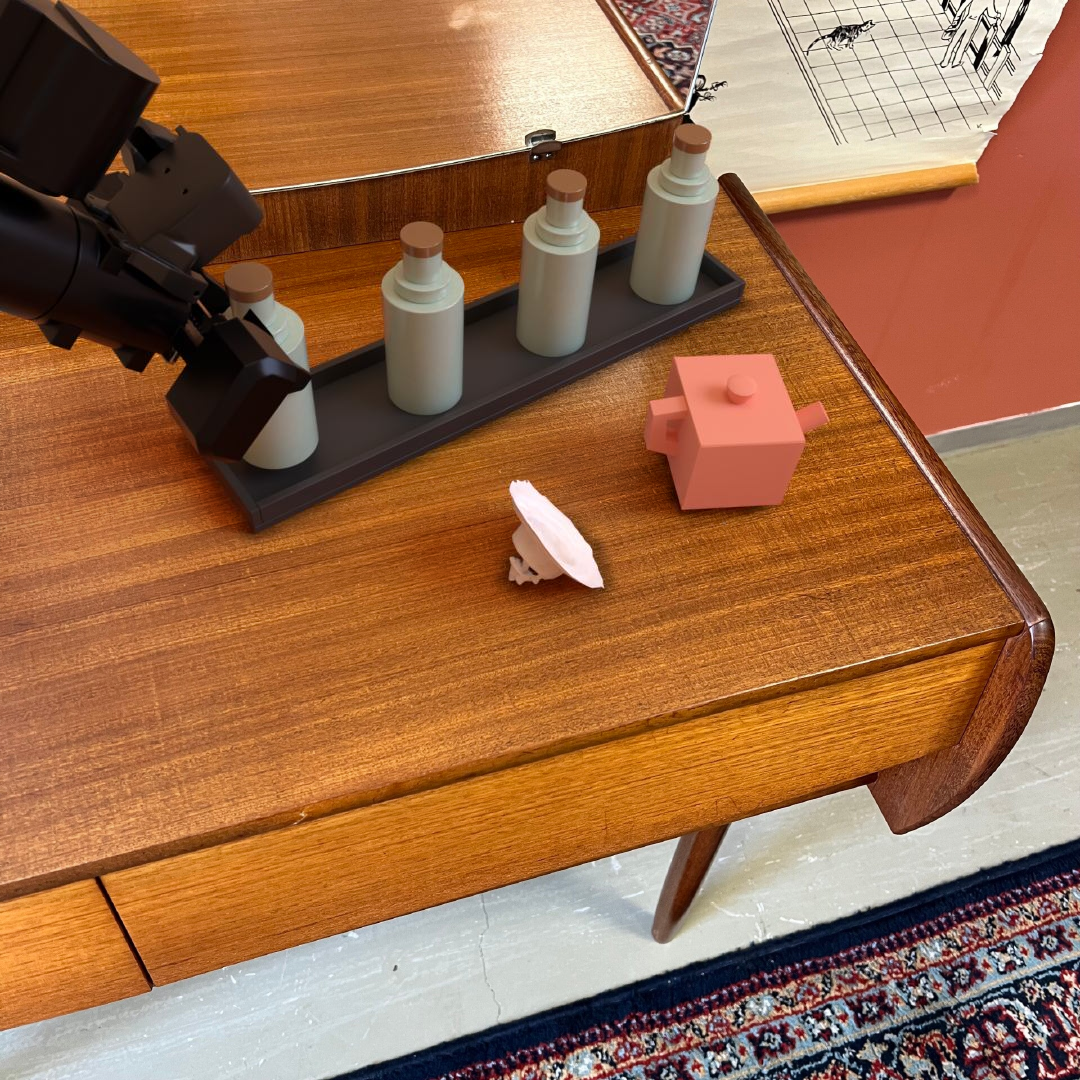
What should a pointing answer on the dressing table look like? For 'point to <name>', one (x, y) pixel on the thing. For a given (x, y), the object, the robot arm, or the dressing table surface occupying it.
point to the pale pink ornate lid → (548, 541)
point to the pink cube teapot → (729, 430)
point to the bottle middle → (557, 269)
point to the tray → (488, 386)
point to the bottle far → (675, 220)
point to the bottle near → (423, 324)
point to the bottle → (295, 418)
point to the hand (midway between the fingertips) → (284, 354)
